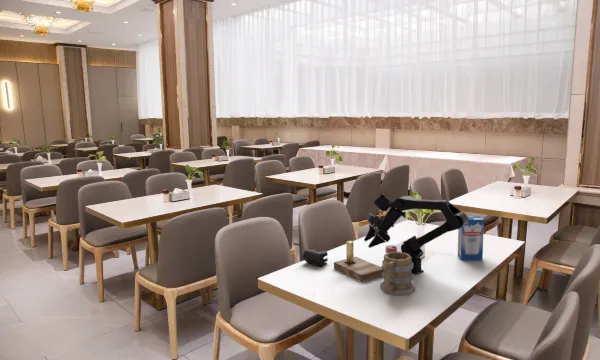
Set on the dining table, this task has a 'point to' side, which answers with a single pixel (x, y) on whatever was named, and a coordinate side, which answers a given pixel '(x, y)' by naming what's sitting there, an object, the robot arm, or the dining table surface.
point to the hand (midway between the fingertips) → (366, 243)
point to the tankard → (397, 273)
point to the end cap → (315, 257)
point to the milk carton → (471, 239)
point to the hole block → (359, 269)
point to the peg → (350, 252)
